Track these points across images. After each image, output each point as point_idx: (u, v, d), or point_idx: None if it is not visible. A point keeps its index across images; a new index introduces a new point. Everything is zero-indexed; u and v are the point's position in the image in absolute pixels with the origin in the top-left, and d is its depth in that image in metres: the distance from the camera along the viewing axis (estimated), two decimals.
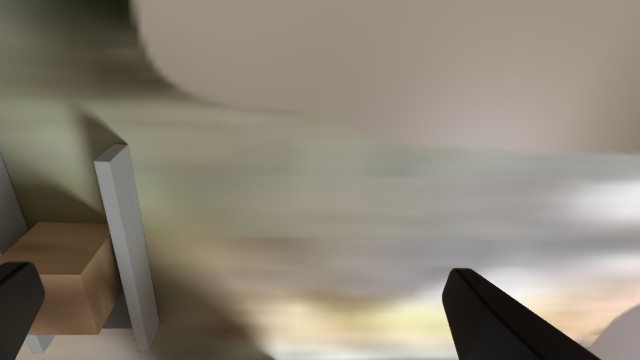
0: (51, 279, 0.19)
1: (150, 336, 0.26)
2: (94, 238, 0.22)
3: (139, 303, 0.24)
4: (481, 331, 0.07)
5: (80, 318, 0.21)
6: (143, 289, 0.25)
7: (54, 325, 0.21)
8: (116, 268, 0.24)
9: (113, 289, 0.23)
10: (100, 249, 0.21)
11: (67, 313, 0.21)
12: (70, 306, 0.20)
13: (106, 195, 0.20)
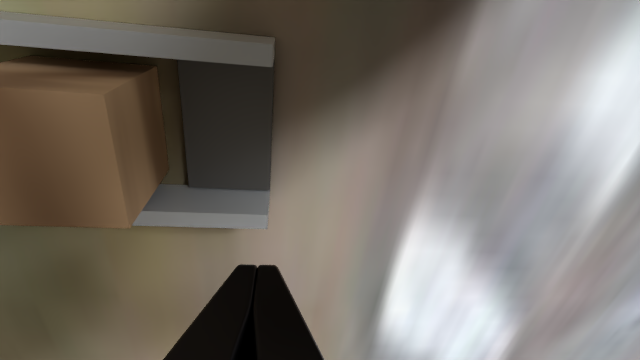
0: None
1: (251, 40, 0.13)
2: None
3: (124, 30, 0.12)
4: None
5: (59, 114, 0.11)
6: (124, 27, 0.13)
7: (90, 162, 0.11)
8: (85, 67, 0.13)
9: (103, 74, 0.13)
10: None
11: (47, 132, 0.11)
12: (24, 122, 0.11)
13: None
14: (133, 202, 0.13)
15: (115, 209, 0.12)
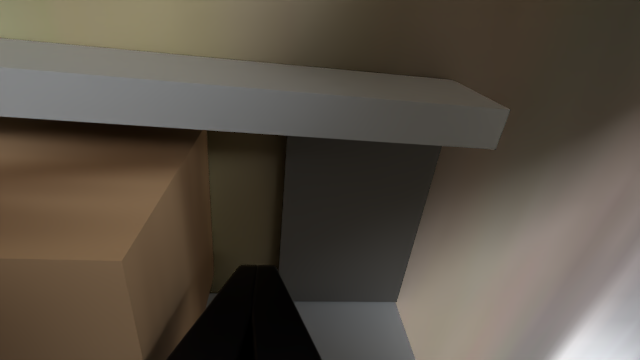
0: None
1: (452, 96, 0.07)
2: None
3: (228, 85, 0.06)
4: None
5: (10, 303, 0.04)
6: (215, 72, 0.07)
7: None
8: (79, 139, 0.07)
9: (114, 160, 0.06)
10: None
11: None
12: None
13: None
14: None
15: None
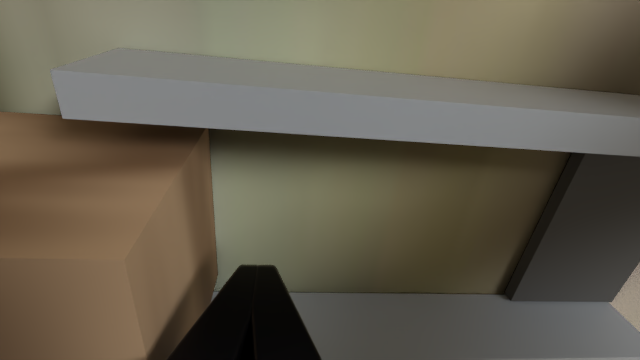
0: None
1: None
2: None
3: None
4: None
5: (15, 301, 0.04)
6: (598, 103, 0.08)
7: None
8: (83, 141, 0.07)
9: (117, 161, 0.06)
10: None
11: None
12: None
13: (193, 112, 0.06)
14: None
15: None
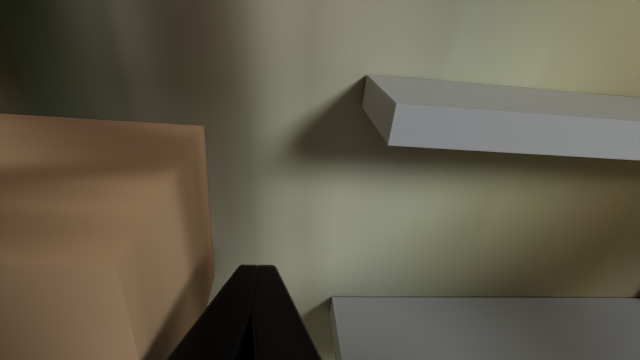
0: None
1: None
2: None
3: None
4: None
5: (6, 307, 0.04)
6: None
7: None
8: (76, 142, 0.07)
9: (111, 164, 0.06)
10: None
11: None
12: None
13: (499, 138, 0.07)
14: None
15: None
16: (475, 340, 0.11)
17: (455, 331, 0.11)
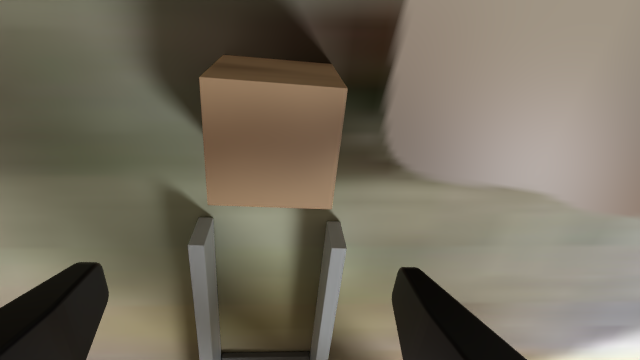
0: (301, 95, 0.12)
1: None
2: (318, 69, 0.15)
3: None
4: (420, 332, 0.07)
5: (317, 178, 0.14)
6: None
7: (275, 189, 0.14)
8: None
9: None
10: (338, 78, 0.14)
11: (302, 166, 0.13)
12: (311, 152, 0.13)
13: (332, 278, 0.19)
14: None
15: (228, 197, 0.14)
16: (211, 295, 0.20)
17: (211, 284, 0.20)
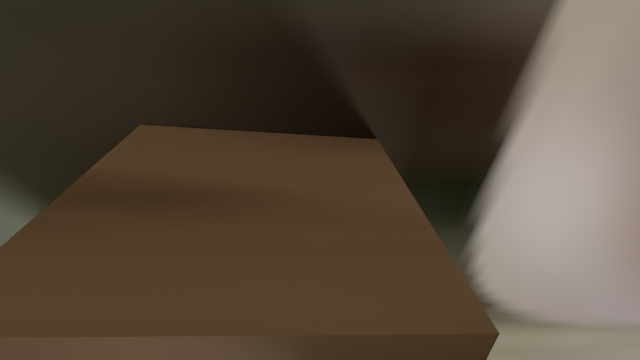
0: None
1: None
2: (358, 172, 0.06)
3: None
4: None
5: None
6: None
7: None
8: None
9: None
10: (414, 210, 0.05)
11: None
12: None
13: None
14: None
15: None
16: None
17: None
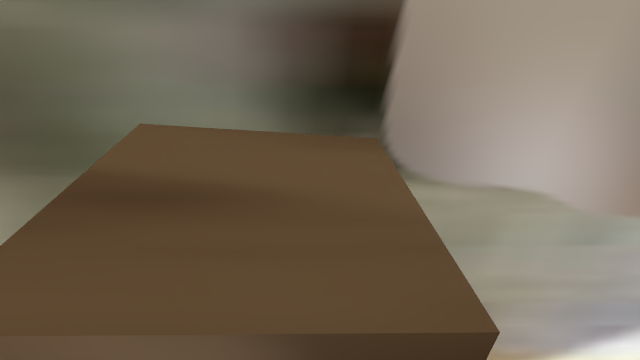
0: (328, 359, 0.03)
1: None
2: (358, 171, 0.06)
3: None
4: None
5: None
6: None
7: None
8: None
9: None
10: (415, 209, 0.05)
11: None
12: None
13: None
14: None
15: None
16: None
17: None
